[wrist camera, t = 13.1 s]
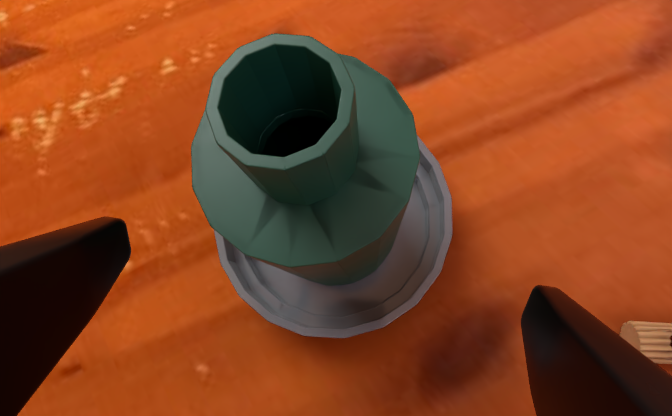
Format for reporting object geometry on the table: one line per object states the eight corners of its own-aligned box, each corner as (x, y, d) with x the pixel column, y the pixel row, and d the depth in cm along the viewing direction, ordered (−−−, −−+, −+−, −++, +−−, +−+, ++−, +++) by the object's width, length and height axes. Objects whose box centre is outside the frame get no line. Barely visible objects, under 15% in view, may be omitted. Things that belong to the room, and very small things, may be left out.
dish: (353, 381, 21) (350, 394, 18) (193, 242, 23) (167, 233, 20) (484, 206, 22) (501, 191, 19) (320, 93, 25) (314, 65, 22)
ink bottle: (345, 311, 21) (298, 322, 7) (253, 235, 22) (72, 128, 9) (419, 214, 22) (498, 65, 8) (326, 147, 23) (264, -73, 10)
